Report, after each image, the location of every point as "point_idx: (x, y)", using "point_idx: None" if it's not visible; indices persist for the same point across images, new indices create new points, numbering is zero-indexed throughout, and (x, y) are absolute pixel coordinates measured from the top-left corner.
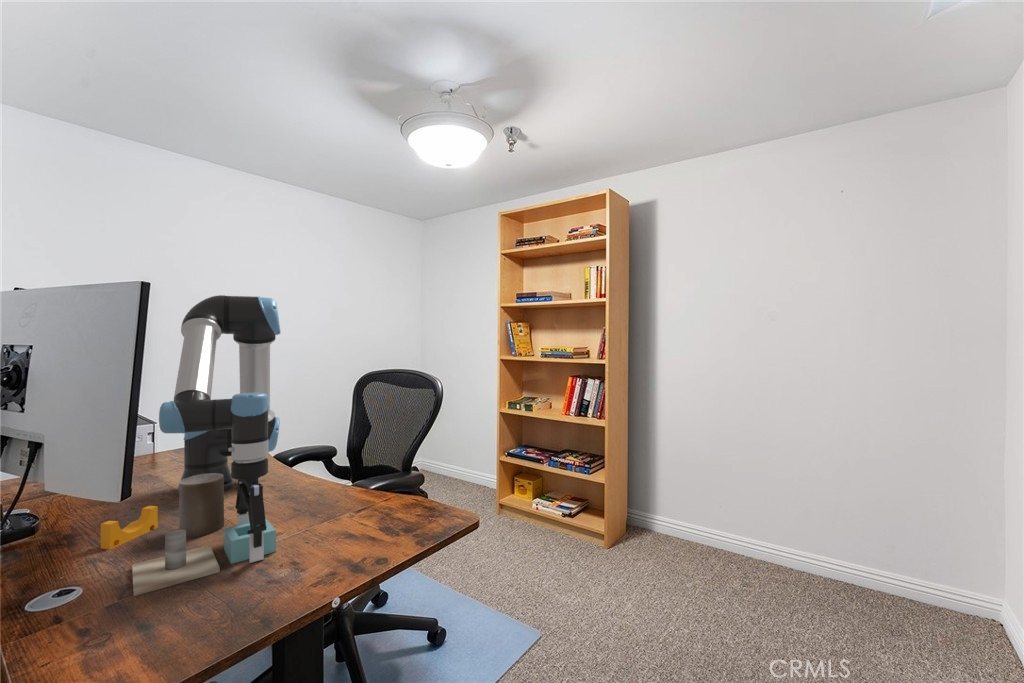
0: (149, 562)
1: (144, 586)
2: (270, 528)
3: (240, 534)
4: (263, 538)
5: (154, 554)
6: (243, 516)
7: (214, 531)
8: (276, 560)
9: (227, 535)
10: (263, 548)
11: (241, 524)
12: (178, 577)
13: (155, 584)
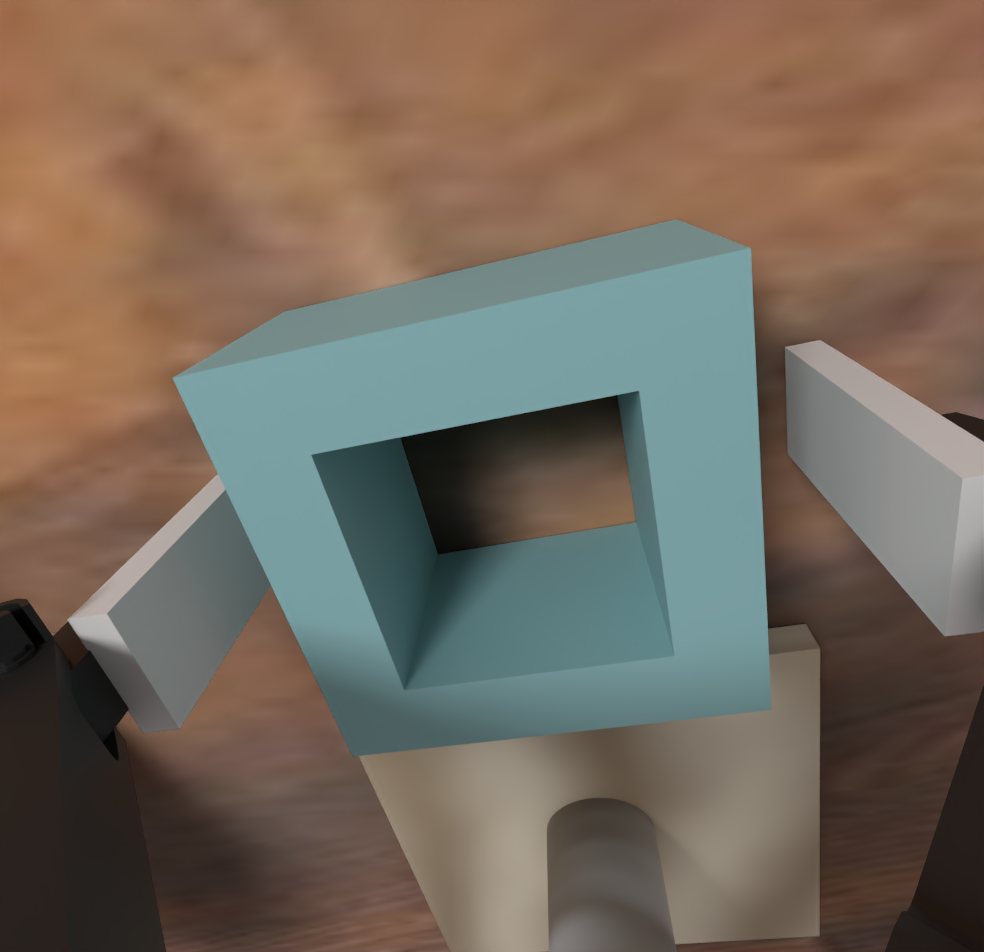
0: (467, 913)
1: (797, 912)
2: (621, 329)
3: (403, 591)
4: (937, 417)
5: (297, 881)
6: (161, 664)
7: None
8: (915, 216)
9: (548, 727)
10: (875, 374)
11: (218, 616)
12: (799, 815)
13: (812, 883)
